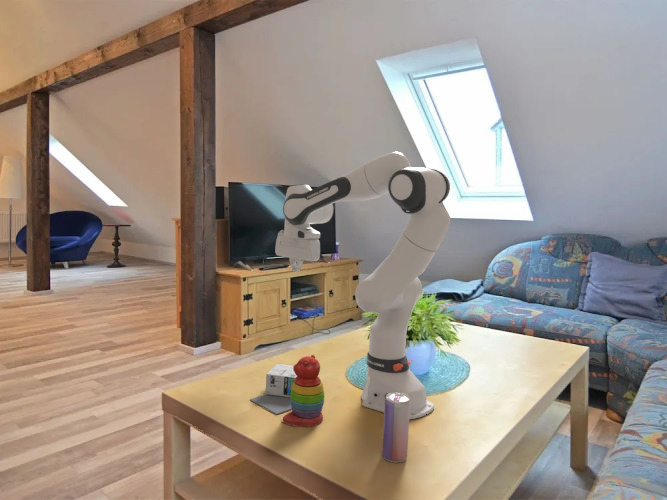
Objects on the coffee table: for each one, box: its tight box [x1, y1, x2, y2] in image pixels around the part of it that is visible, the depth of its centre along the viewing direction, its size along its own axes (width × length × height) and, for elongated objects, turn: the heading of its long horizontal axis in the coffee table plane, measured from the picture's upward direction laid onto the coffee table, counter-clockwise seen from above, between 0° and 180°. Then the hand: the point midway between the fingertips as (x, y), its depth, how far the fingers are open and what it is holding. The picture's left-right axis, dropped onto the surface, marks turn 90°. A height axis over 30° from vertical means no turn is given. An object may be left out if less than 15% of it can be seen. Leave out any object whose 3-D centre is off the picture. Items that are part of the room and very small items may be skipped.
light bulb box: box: [264, 363, 297, 398], centre depth 156 cm, size 11×7×11 cm
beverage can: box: [381, 393, 410, 464], centre depth 119 cm, size 6×6×15 cm
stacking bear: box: [282, 354, 325, 428], centre depth 137 cm, size 11×10×18 cm
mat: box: [250, 393, 292, 416], centre depth 149 cm, size 13×15×1 cm
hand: (296, 271), depth 173 cm, fingers closed
